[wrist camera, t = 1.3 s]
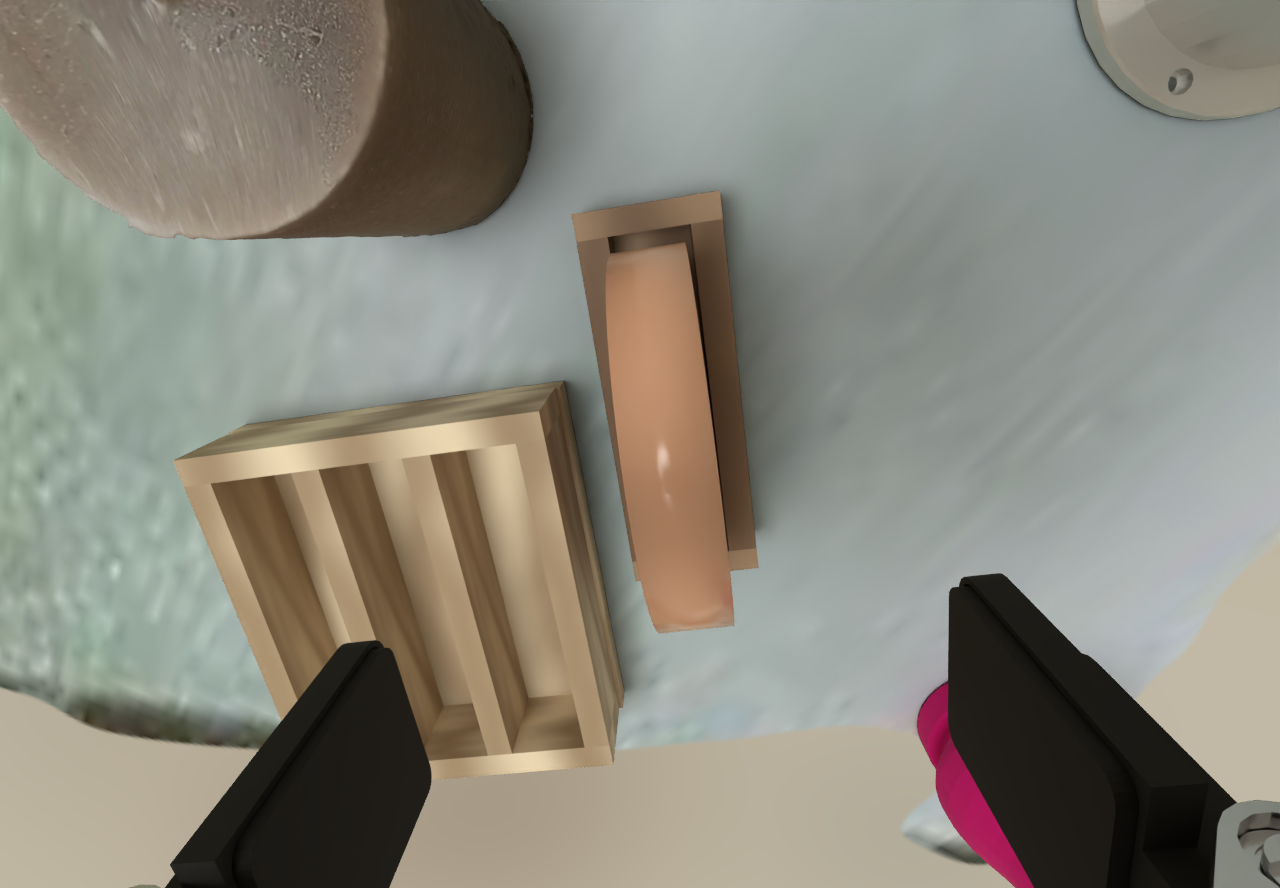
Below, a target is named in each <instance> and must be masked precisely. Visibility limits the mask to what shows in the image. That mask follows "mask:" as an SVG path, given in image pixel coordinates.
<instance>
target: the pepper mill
mask: <svg viewBox="0 0 1280 888" xmlns="http://www.w3.org/2000/svg"><path fill="white" fill-rule="evenodd" d="M917 728H918V734H919V737H920V740H921V742H922V744H923V746H924V748H925V750H926V752H927V754H928V756H929V758H930V761H931V762H932V764H933V765H934V767H935V768H936V790H937V794H938V798H939V801H940V803H941V805H942V808H943V809H944V811H945V813H946V814H947V816H948V818H949V820H950V821H951V823H952V825H953V826H954V828H955V829H956V830H957V832H958V833H959V834H960V836H961V837H962V838H963V839H964V840H965V841H966V842H967V844H968V845H969V846H970V847H971V848H972V849H973V850H974V851H975V852H976V853H977V854H978V855H979V856H980V857H981V858H983V859H984V860H985V861H986V862H987V863H988V864H989V865H990V866H992V867H993V868H994V869H995V870H996V871H998V872H999V873H1000V874H1001V875H1002V876H1003V877H1005V878H1006V879H1007V880H1008V881H1009V882H1010V883H1011V884H1012V885H1013V886H1014V887H1015V888H1034V887H1033V885H1032V883H1031V881H1030V879H1029V878H1028V876H1027V874H1026V872H1025V871H1024V869H1023V867H1022V865H1021V863H1020V862H1019V860H1018V858H1017V856H1016V854H1015V853H1014V851H1013V849H1012V847H1011V846H1010V844H1009V842H1008V840H1007V838H1006V837H1005V835H1004V833H1003V831H1002V830H1001V828H1000V826H999V824H998V822H997V821H996V819H995V817H994V815H993V814H992V812H991V810H990V808H989V806H988V805H987V803H986V801H985V799H984V797H983V796H982V794H981V792H980V790H979V789H978V787H977V785H976V783H975V781H974V780H973V778H972V776H971V774H970V773H969V771H968V769H967V767H966V765H965V764H964V762H963V760H962V758H961V757H960V755H959V753H958V751H957V749H956V748H955V746H954V743H953V741H952V738H951V735H950V731H949V726H948V683H946V684H945V685H943V686H941V687H940V688H939V689H937V690H936V691H935V692H934V693H933V694H932V695H930V696H929V697H928V699H927V700H926V702H925V704H924V705H923V707H922V708H921V710H920V713H919V716H918V724H917Z"/></svg>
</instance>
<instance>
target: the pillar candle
mask: <svg viewBox="0 0 1280 888" xmlns="http://www.w3.org/2000/svg"><path fill="white" fill-rule="evenodd" d="M0 107H1V108H2V109H4V110H5V111H6V113H7V114H8V116H9V117H10V118H11V119H12V121H13V122H14V124H15V125H16V126H17V127H18V129H19V130H20V131H21V132H22V133H23V134H24V135H25V136H26V137H27V138H28V139H29V140H30V141H31V142H32V143H33V144H34V145H35V147H36V150H37V153H38V154H39V156H40V157H41V158H43V159H44V160H46V161H47V162H48V163H49V164H50V165H51V166H53V167H54V168H55V169H56V170H57V171H59V172H60V173H61V174H62V175H63V176H64V177H66V178H67V179H68V180H70V181H71V182H72V183H73V184H74V185H75V186H76V187H77V188H79V189H80V190H81V191H82V192H83V193H84V194H86V195H87V196H88V197H89V198H90V199H91V200H94V201H96V202H98V203H99V204H101V205H103V206H105V207H106V208H108V209H110V210H112V211H113V212H115V213H118V214H120V215H122V216H124V217H125V218H126V219H127V221H128V223H129V227H135V228H137V229H139V230H140V231H142V232H143V233H144V234H147V235H153V236H157V237H162V238H175V235H177V234H180V235H184V236H186V237H188V238H190V239H196V238H206V239H214V240H236V239H269V238H283V239H290V238H312V237H345V236H355V237H383V236H403V237H410V236H420V235H435V234H442V233H447V232H450V231H454V230H457V229H463V228H465V227H468V226H471V225H476V224H478V223H479V222H481V221H482V220H483V219H484V218H486V217H487V216H488V215H489V214H491V213H492V212H493V211H495V210H496V209H497V208H498V207H499V206H500V204H501V203H502V202H503V201H504V199H505V198H506V197H507V195H508V194H509V193H510V192H511V190H512V189H513V188H514V186H515V184H516V183H517V181H518V179H519V176H520V174H521V172H522V170H523V168H524V166H525V164H526V161H527V157H528V156H527V154H528V151H529V150H530V145H531V138H532V130H533V119H532V117H531V115H532V114H533V111H532V109H533V103H532V95H531V91H530V85H529V80H528V76H527V74H526V71H525V68H524V64H523V62H522V59H521V56H520V54H519V52H518V49H517V47H516V45H515V43H514V42H513V40H512V38H511V37H510V35H509V33H508V31H507V30H506V28H505V27H504V25H503V24H502V23H501V22H498V21H497V20H496V19H495V18H494V17H493V16H492V15H491V14H490V13H489V12H488V11H487V9H486V7H484V6H483V4H482V3H481V1H480V0H0ZM129 227H128V228H129Z"/></svg>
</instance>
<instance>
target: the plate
mask: <svg viewBox="0 0 1280 888" xmlns="http://www.w3.org/2000/svg"><path fill="white" fill-rule="evenodd" d="M606 321H607V339H608V352H609V366H610V376H611V387H612V397H613V406H614V415H615V424H616V432H617V440H618V448H619V456H620V463H621V470H622V477H623V484H624V491H625V498H626V504H627V510H628V516H629V522H630V528H631V533H632V539H633V544H634V550H635V555H636V560H637V565H638V570H639V575H640V579H641V583H642V588H643V592H644V596H645V600H646V604H647V607H648V611H649V614H650V617H651V620H652V622H653V625H654V627H655V629H656V631H657V632H658V633H669V632H679V631H689V630H699V629H709V628H718V627H728V626H734V610H733V598H732V587H731V578H730V568H729V559H728V550H727V541H726V532H725V524H724V515H723V507H722V499H721V490H720V482H719V474H718V466H717V458H716V450H715V442H714V434H713V427H712V419H711V411H710V404H709V396H708V388H707V381H706V374H705V366H704V359H703V352H702V345H701V338H700V330H699V323H698V317H697V310H696V303H695V296H694V290H693V283H692V277H691V271H690V265H689V259H688V253H687V248H686V244H685V242H683V243H676V244H670V245H664V246H657V247H651V248H644V249H638V250H632V251H625V252H619V253H612V254H610V255H609V257H608V261H607V268H606Z"/></svg>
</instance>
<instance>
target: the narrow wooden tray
mask: <svg viewBox="0 0 1280 888" xmlns="http://www.w3.org/2000/svg"><path fill="white" fill-rule="evenodd" d="M572 219H573V224H574V230H575V236H576V241H577V247H578V253H579V259H580V264H581V270H582V276H583V282H584V287H585V293H586V299H587V304H588V310H589V316H590V322H591V327H592V333H593V339H594V345H595V350H596V356H597V362H598V367H599V373H600V379H601V385H602V390H603V396H604V402H605V408H606V413H607V419H608V425H609V430H610V436H611V442H612V448H613V453H614V459H615V465H616V471H617V476H618V482H619V488H620V493H621V499H622V505H623V511H624V516H625V522H626V528H627V534H628V539H629V545H630V551H631V557H632V562H633V568H634V574H635V579H636V581H641V579H640V575H639V570H638V565H637V560H636V555H635V550H634V544H633V539H632V533H631V528H630V522H629V516H628V510H627V504H626V498H625V491H624V484H623V477H622V470H621V463H620V456H619V448H618V440H617V432H616V424H615V415H614V406H613V397H612V387H611V376H610V366H609V352H608V339H607V321H606V268H607V261H608V257H609V255H610V254H612V253H619V252H625V251H632V250H638V249H644V248H651V247H657V246H664V245H670V244H676V243H683V242H685V244H686V248H687V253H688V259H689V265H690V271H691V277H692V283H693V290H694V296H695V303H696V310H697V317H698V323H699V330H700V338H701V345H702V352H703V359H704V366H705V374H706V381H707V388H708V396H709V404H710V411H711V419H712V427H713V434H714V442H715V450H716V458H717V466H718V474H719V482H720V490H721V499H722V507H723V515H724V524H725V532H726V541H727V550H728V559H729V568H730V571H733V570H743V569H752V568H758V560H757V551H756V540H755V530H754V520H753V510H752V501H751V491H750V481H749V471H748V461H747V451H746V441H745V432H744V422H743V412H742V402H741V392H740V382H739V372H738V363H737V353H736V343H735V333H734V323H733V313H732V303H731V294H730V284H729V274H728V264H727V254H726V244H725V235H724V225H723V215H722V205H721V195H720V190H719V191H713V192H707V193H701V194H695V195H689V196H683V197H676V198H670V199H664V200H658V201H652V202H646V203H640V204H633V205H627V206H621V207H615V208H609V209H603V210H597V211H590V212H584V213H578V214H572Z"/></svg>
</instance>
